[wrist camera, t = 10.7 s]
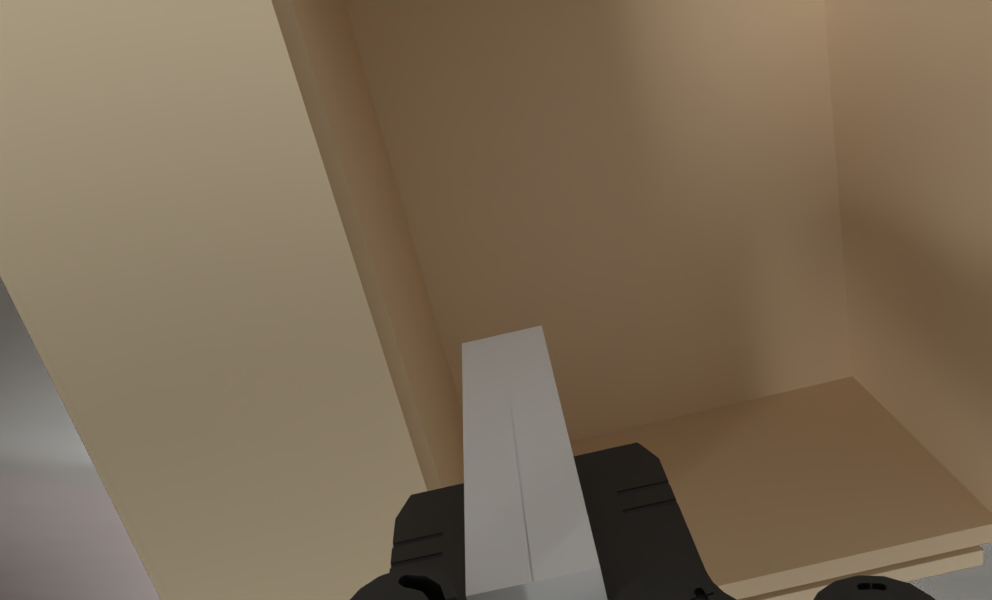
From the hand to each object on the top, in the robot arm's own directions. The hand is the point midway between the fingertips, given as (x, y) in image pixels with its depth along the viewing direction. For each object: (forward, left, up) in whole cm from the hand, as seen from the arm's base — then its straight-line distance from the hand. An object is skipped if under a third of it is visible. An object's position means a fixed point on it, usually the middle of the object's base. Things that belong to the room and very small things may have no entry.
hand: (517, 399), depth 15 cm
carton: (+4, 0, -13) cm, 13 cm away
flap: (-3, 0, -3) cm, 4 cm away
